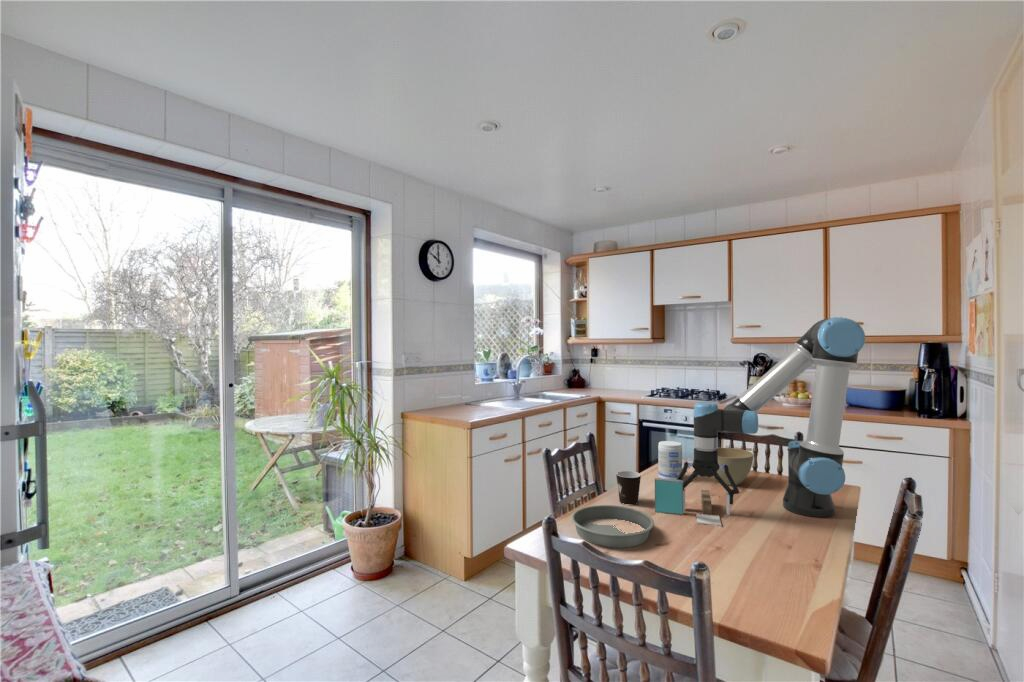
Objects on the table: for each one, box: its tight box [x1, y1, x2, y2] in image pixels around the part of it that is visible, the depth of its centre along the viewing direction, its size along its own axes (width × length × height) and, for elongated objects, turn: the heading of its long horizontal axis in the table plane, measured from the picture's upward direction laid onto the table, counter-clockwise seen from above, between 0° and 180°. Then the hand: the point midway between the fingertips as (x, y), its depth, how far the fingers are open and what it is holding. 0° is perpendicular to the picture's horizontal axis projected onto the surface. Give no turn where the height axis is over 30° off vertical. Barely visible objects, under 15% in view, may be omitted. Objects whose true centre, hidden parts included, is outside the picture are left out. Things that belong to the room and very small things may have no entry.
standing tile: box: [654, 477, 684, 515], centre depth 161 cm, size 2×9×11 cm, turn 71°
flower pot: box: [714, 447, 754, 486], centre depth 193 cm, size 18×18×12 cm
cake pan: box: [570, 504, 655, 548], centre depth 146 cm, size 25×25×4 cm
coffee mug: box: [615, 470, 642, 505], centre depth 173 cm, size 12×9×10 cm
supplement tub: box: [657, 440, 683, 480], centre depth 200 cm, size 10×10×15 cm
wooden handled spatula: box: [695, 489, 722, 527], centre depth 159 cm, size 20×7×5 cm, turn 161°
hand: (705, 511), depth 161 cm, fingers open, 13 cm apart
